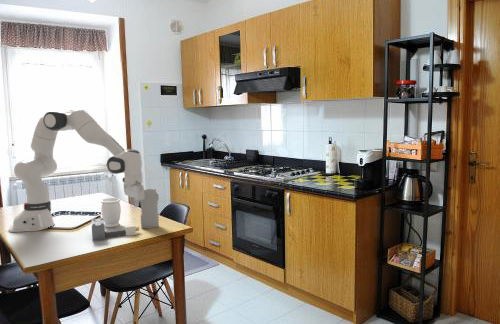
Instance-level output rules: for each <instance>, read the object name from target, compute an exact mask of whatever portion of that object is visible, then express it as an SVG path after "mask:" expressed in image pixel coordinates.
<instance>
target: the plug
mask: <svg viewBox="0 0 500 324" xmlns="http://www.w3.org/2000/svg"><path fill="white" fill-rule="evenodd" d="M139 231H140V227H139V226H136V225H135V224H134V223H133V224H126V225H124V228H121V229H112V230H105V239H108V237H109V238H117V237H124V235H125V237H126V236H127V237H128V236H134V235H137V232H139ZM116 236H117V237H116Z"/></svg>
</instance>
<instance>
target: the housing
mask: <svg viewBox="0 0 500 324" xmlns="http://www.w3.org/2000/svg"><path fill="white" fill-rule="evenodd" d="M104 224H105V222H104V218H103V217H101V218H92V219H91V239H92V241H91V242H98V241H99V242H100V241H105V240H106V238H105V231H106V230H105V228H106V227H105V226H104Z"/></svg>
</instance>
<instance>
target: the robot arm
mask: <svg viewBox="0 0 500 324" xmlns="http://www.w3.org/2000/svg"><path fill="white" fill-rule="evenodd" d="M68 130H70V131H71V130H75V131H76V133H77V134H78V135H79V136H80V137H81V139H83V140H84V141H85V142H86V143H88V144H93V145H96V146H97V145H98V146H101V147H104V148H105V149H107V150H108V151H109V152H110V154H112V155H113V156H111V157H109V158H108V159H107V161H106V167H107V170H108V171H109V172H110V173H111V174H114V175H115V174H116V175H117V174H119V175H120V174H123V173H124V176H123V177H122V178H121V179H122V183H123V192H124V195H125V196H128V198H129V202H130V205H131V206H134V207H135V208H138V207H139V206H140V200H144V198H145V195H144V190H145V186H144V185H143V172H142V167H143V164H142V163H143V162H142V154H141V153H140V151H139V150H137V149H132V148H126V149H125V148H123V146H122V145H120V144H119V143H118V142H117V141H116V139H115V138H114V137H112V135H110V134H109V133H107V131H106V130H104V129H103V127H101V125H100V123H99V124H98V122H97V121H96V120H95V118H94V117H92V115H90V113H88V112H87V110H86V111H85V110H84V109H82V108H78V109H75V110H68V109H67V110H66V109H60V110H59V109H58V110H55V109H54V110H49V111H47V112H46V113H45V114H44V115H43V116H42V117H40V118H39V119H38V122H37V124H36V126H35V128H34V131H33V135H32V139H31V144H30V147H31V148H30V149H31V150H32V151H33V152H34V157H33V158H29V159H24V160H21V161H19V162H17V163H16V164H15V166H14V168H13V169H14V170H13V172H14V175H15V176H16V178H18V179H19V180H20V181H22V184H23V185H24V187H25V192H26V200H27V201H25V202H24V204H23V211H21V212H20V213H19V214H17V215H16V216H14V219H13V222H12V225H11V226H9V227H8V232H9V233H16V232H17V233H18V232H19V233H20V232H36V231H38V232H39V231H42V230H45V229H49V228H51V227H50V226H52V227H54V226H55V225H54V224H55V222H54V220H53V215H52V203H51V200H50V198H51V197H50V188H49V186H48V185H46V184H45V183H44V181H43V179H42V178H43V177H47V176H50V175H52V174H54V173H55V172H56V171H57V169H58V163H57V161H56V160H55V159H54V155H53V154H54V147H55V143H56V140H57V136H58V133H59V131H60V132H62V131H68ZM53 225H54V226H53ZM48 227H49V228H48Z"/></svg>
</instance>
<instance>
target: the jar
mask: <svg viewBox="0 0 500 324" xmlns="http://www.w3.org/2000/svg"><path fill="white" fill-rule="evenodd" d="M100 203H101V209H100V211H101V216H102V217H101V218H104V226H105V228H115V227H118V226H120V222H119V221H120V220H121V212H122V211H121V209H122V208H121V199H120V198H117V197H113V198H112V197H110V198H109V197H108V198H104V199H100Z"/></svg>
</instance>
